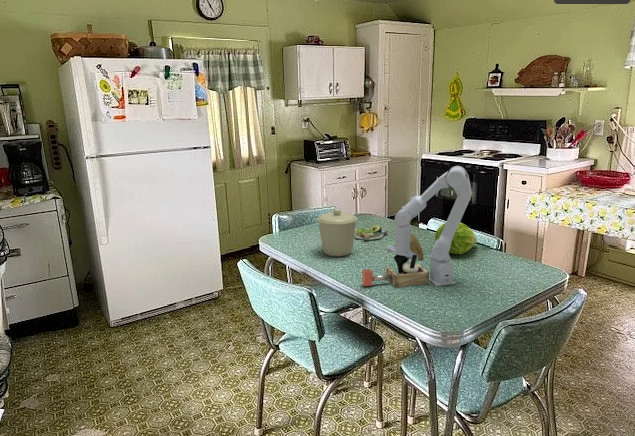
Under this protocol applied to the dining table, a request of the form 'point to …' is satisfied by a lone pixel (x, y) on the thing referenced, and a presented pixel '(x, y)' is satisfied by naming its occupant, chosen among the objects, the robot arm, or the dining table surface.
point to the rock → (415, 247)
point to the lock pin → (372, 277)
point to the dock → (408, 277)
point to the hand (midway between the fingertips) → (401, 272)
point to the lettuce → (459, 239)
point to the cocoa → (410, 266)
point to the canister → (337, 232)
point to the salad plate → (370, 233)
